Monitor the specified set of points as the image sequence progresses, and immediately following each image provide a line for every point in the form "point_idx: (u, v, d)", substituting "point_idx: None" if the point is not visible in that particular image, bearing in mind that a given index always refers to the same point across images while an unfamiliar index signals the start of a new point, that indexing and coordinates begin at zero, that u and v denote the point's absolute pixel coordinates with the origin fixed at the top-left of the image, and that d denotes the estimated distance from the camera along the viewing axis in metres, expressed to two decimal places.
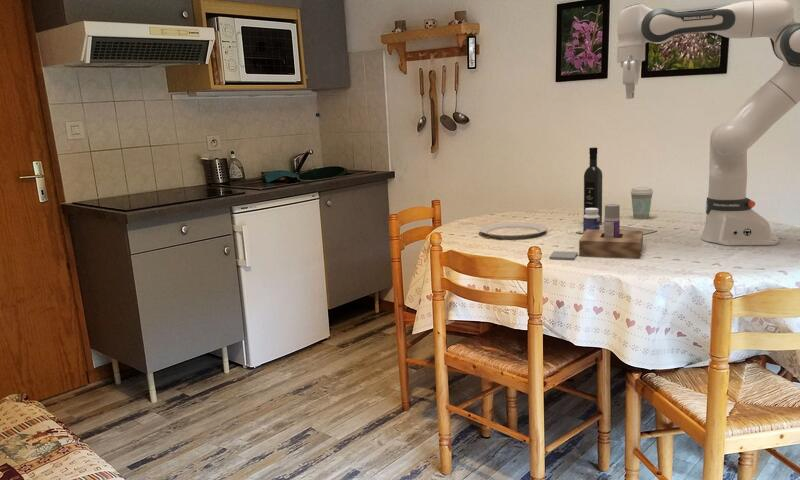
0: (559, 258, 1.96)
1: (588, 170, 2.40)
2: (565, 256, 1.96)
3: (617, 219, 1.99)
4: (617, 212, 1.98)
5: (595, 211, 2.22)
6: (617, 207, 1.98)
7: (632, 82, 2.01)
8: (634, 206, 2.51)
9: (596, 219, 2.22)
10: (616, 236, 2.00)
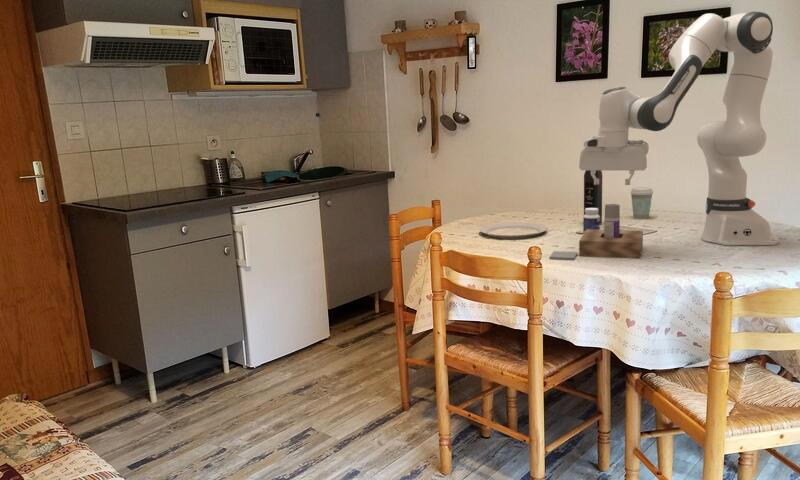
0: (559, 258, 1.96)
1: (588, 170, 2.40)
2: (565, 256, 1.96)
3: (617, 219, 1.99)
4: (617, 212, 1.98)
5: (595, 211, 2.22)
6: (617, 207, 1.98)
7: None
8: (634, 206, 2.51)
9: (596, 219, 2.22)
10: (616, 236, 2.00)
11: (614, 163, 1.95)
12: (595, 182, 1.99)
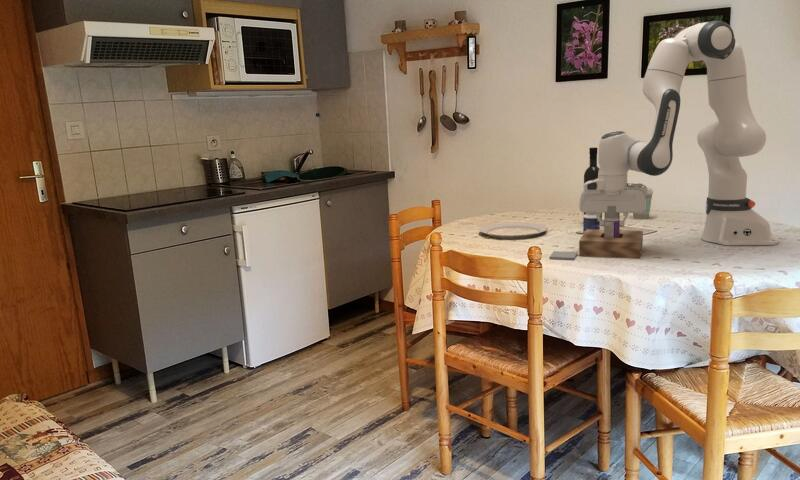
0: (559, 258, 1.96)
1: (588, 170, 2.40)
2: (565, 256, 1.96)
3: (617, 219, 1.99)
4: None
5: None
6: None
7: None
8: None
9: (596, 219, 2.22)
10: (616, 236, 2.00)
11: None
12: (601, 224, 2.02)
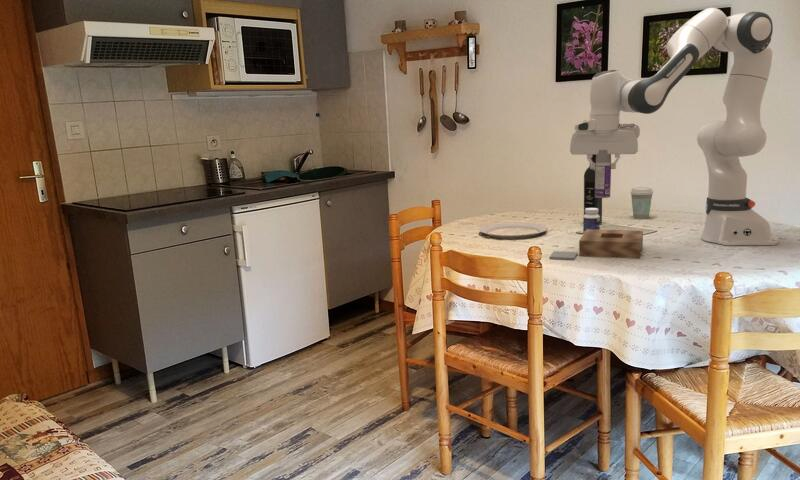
0: (559, 258, 1.96)
1: (588, 170, 2.40)
2: (565, 256, 1.96)
3: (608, 163, 1.94)
4: (608, 156, 1.94)
5: (595, 211, 2.22)
6: None
7: None
8: (634, 206, 2.51)
9: (596, 219, 2.22)
10: (607, 181, 1.95)
11: (605, 147, 1.93)
12: (591, 166, 1.97)
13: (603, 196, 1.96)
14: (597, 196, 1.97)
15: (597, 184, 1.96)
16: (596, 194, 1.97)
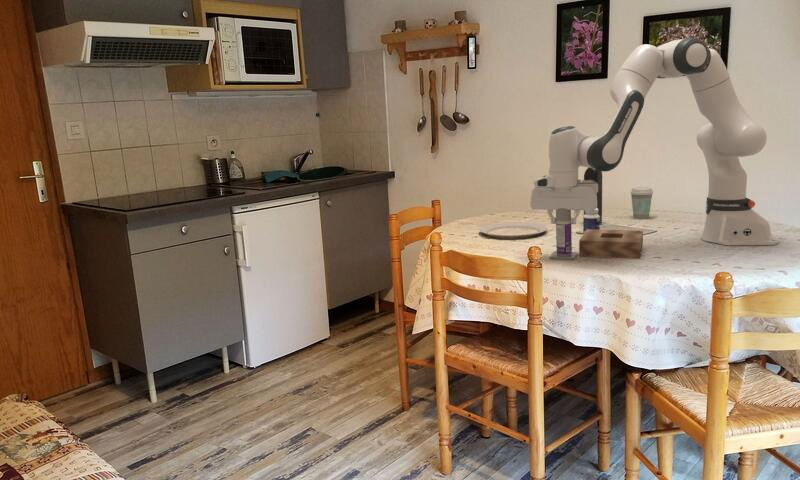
0: (559, 258, 1.96)
1: (588, 170, 2.40)
2: (565, 256, 1.96)
3: (568, 222, 1.94)
4: (568, 215, 1.94)
5: (595, 211, 2.22)
6: (568, 210, 1.93)
7: None
8: (634, 206, 2.51)
9: (596, 219, 2.22)
10: (567, 239, 1.95)
11: (564, 203, 1.93)
12: (552, 221, 1.97)
13: (564, 254, 1.96)
14: (558, 254, 1.98)
15: (558, 242, 1.97)
16: (557, 252, 1.98)
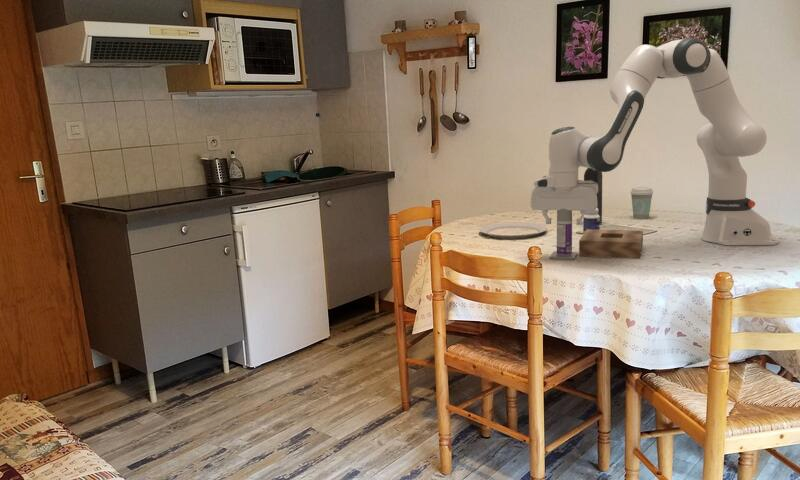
0: (559, 258, 1.96)
1: (588, 170, 2.40)
2: (565, 256, 1.96)
3: (569, 222, 1.94)
4: (569, 215, 1.94)
5: (595, 211, 2.22)
6: (569, 210, 1.94)
7: None
8: (634, 206, 2.51)
9: (596, 219, 2.22)
10: (568, 239, 1.95)
11: (564, 203, 1.93)
12: (547, 221, 1.97)
13: (564, 254, 1.96)
14: (558, 254, 1.98)
15: (558, 242, 1.97)
16: (558, 251, 1.98)
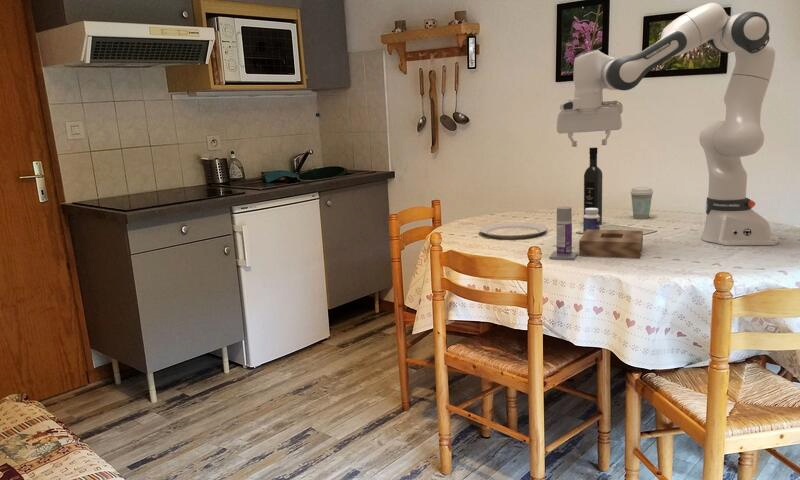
0: (559, 258, 1.96)
1: (588, 170, 2.40)
2: (565, 256, 1.96)
3: (569, 222, 1.94)
4: (569, 215, 1.94)
5: (595, 211, 2.22)
6: (568, 210, 1.94)
7: None
8: (634, 206, 2.51)
9: (596, 219, 2.22)
10: (567, 239, 1.95)
11: (590, 125, 2.01)
12: (573, 144, 2.05)
13: (564, 254, 1.96)
14: (558, 254, 1.98)
15: (558, 242, 1.97)
16: (557, 252, 1.98)
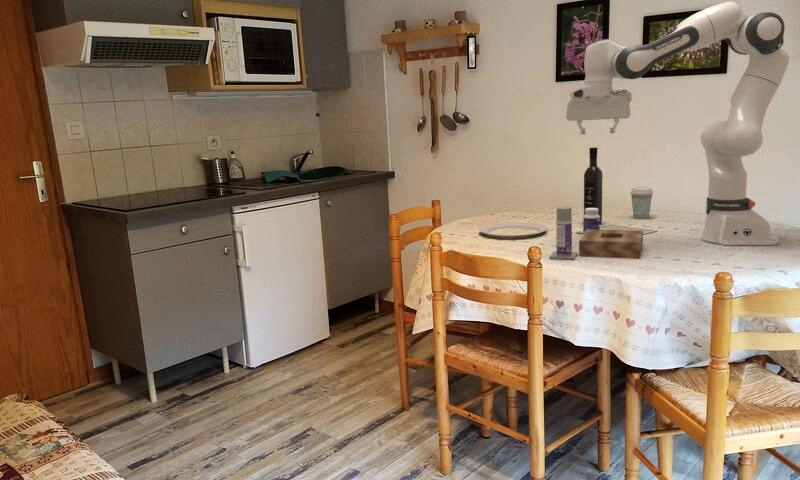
0: (559, 258, 1.96)
1: (588, 170, 2.40)
2: (565, 256, 1.96)
3: (569, 222, 1.94)
4: (568, 215, 1.94)
5: (595, 211, 2.22)
6: (568, 210, 1.94)
7: None
8: (634, 206, 2.51)
9: (596, 219, 2.22)
10: (567, 239, 1.95)
11: (599, 112, 2.05)
12: (582, 132, 2.09)
13: (564, 254, 1.96)
14: (558, 254, 1.98)
15: (558, 242, 1.97)
16: (557, 252, 1.98)
